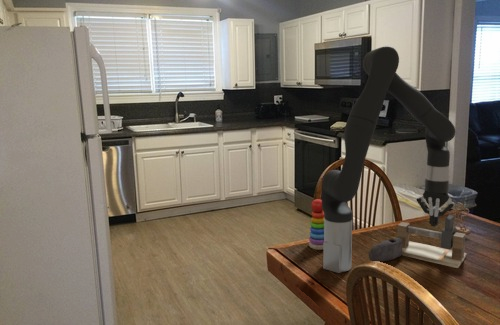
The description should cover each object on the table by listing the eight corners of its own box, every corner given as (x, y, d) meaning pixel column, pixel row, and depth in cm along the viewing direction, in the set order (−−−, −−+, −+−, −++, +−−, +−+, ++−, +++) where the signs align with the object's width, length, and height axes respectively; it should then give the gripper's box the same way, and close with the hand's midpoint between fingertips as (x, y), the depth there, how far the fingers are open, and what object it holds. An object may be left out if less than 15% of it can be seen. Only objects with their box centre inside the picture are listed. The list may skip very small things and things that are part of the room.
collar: (450, 249, 145) (451, 220, 143) (440, 247, 147) (442, 219, 145) (454, 243, 150) (456, 215, 148) (445, 242, 152) (447, 214, 150)
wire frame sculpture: (444, 228, 179) (446, 201, 177) (449, 226, 181) (451, 199, 179) (466, 234, 172) (468, 205, 170) (470, 232, 174) (472, 204, 172)
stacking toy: (328, 242, 167) (329, 196, 163) (330, 250, 159) (330, 202, 156) (308, 242, 168) (308, 196, 164) (309, 250, 160) (309, 202, 156)
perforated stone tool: (373, 266, 145) (373, 247, 144) (363, 261, 150) (363, 242, 148) (407, 258, 151) (408, 240, 150) (396, 253, 156) (397, 235, 154)
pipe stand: (457, 268, 142) (459, 241, 140) (392, 253, 156) (393, 228, 154) (466, 256, 151) (468, 230, 149) (404, 242, 165) (405, 219, 163)
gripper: (413, 177, 148) (411, 224, 152) (454, 182, 140) (450, 232, 143) (421, 173, 154) (418, 219, 157) (460, 178, 146) (456, 226, 149)
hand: (433, 225), depth 150 cm, fingers closed
